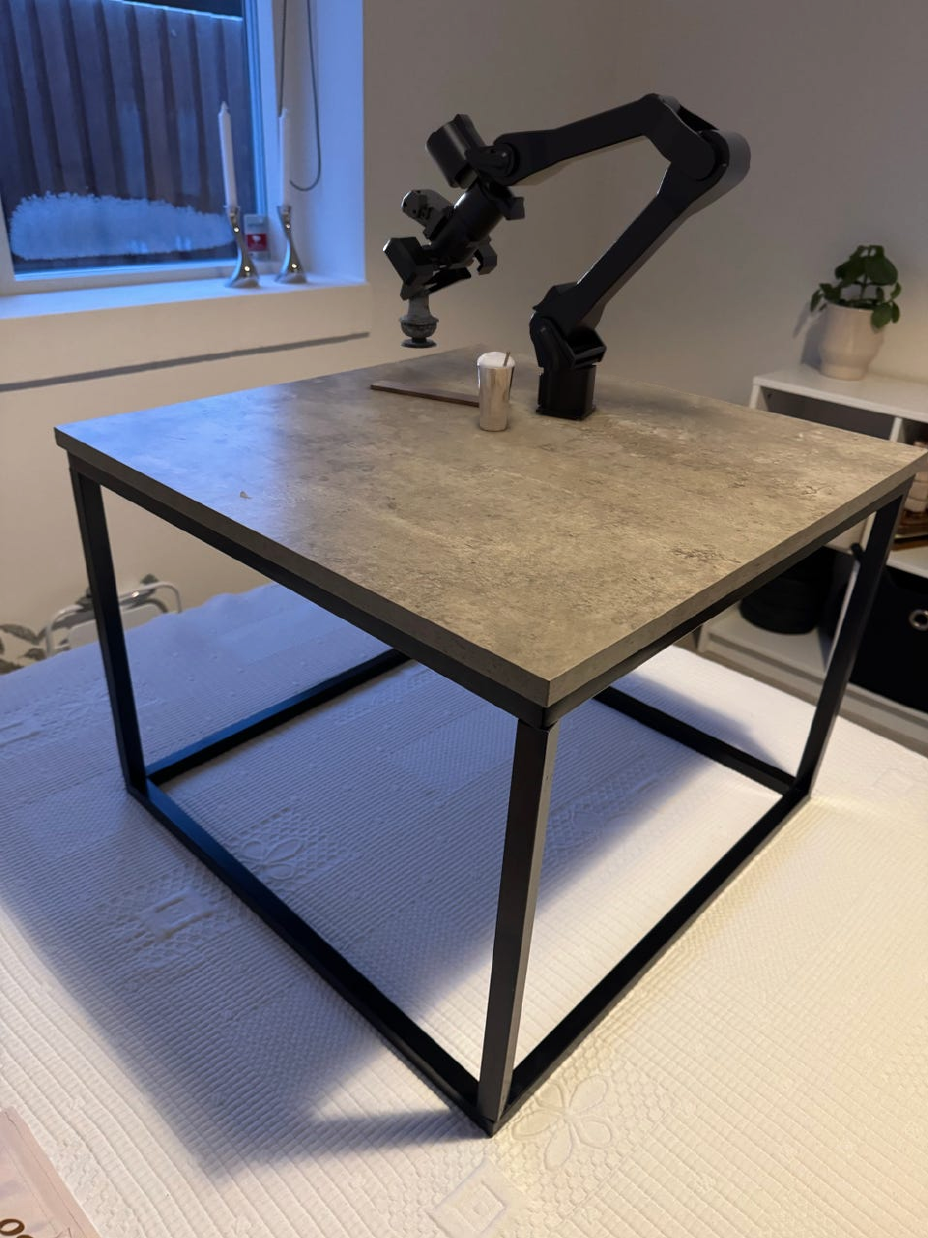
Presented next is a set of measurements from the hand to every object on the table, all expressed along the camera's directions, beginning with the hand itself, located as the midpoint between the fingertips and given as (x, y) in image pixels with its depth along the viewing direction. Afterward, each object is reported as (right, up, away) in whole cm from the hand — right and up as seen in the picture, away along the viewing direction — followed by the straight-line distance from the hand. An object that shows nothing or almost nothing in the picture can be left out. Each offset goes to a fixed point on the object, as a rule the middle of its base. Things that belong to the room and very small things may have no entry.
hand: (411, 296), depth 124 cm
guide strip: (+4, -16, -4) cm, 17 cm away
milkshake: (+11, -23, -16) cm, 30 cm away
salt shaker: (+1, -6, +3) cm, 7 cm away
